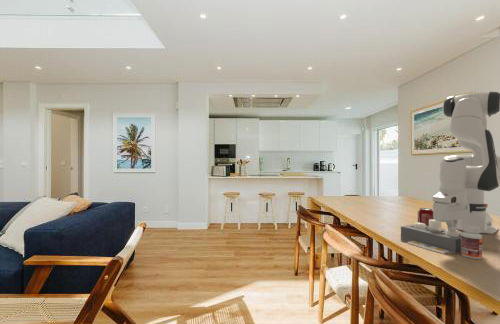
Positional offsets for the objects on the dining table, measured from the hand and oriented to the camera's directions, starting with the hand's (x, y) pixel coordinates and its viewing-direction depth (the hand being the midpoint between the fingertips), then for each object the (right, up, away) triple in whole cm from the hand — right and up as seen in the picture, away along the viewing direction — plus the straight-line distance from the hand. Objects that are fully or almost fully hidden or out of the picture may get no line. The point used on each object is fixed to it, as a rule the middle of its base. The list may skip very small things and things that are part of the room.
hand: (451, 230), depth 108 cm
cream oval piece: (-6, -6, +12) cm, 14 cm away
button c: (0, -6, 0) cm, 6 cm away
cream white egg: (-3, -3, +6) cm, 7 cm away
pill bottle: (0, -8, -9) cm, 12 cm away
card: (-10, -7, 0) cm, 12 cm away
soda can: (+4, -7, +23) cm, 24 cm away
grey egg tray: (-3, -7, +6) cm, 10 cm away
